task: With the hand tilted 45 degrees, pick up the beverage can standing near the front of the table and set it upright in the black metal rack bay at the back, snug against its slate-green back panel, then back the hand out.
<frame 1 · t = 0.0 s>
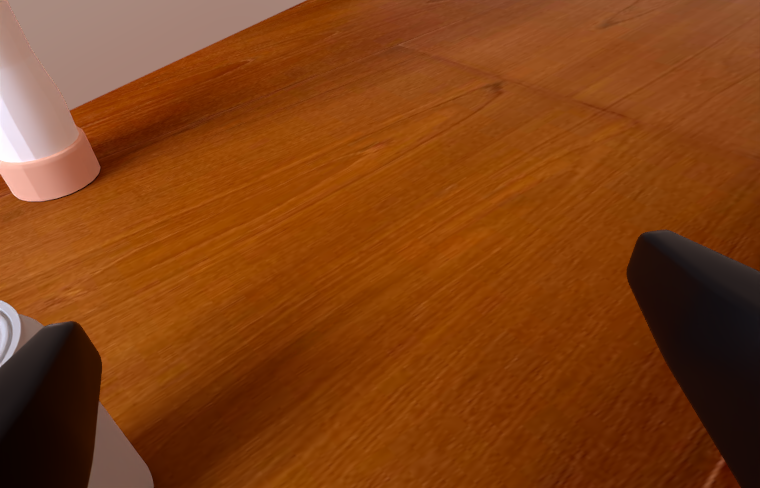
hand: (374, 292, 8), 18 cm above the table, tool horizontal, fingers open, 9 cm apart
pepper shaker: (58, 180, 46), on the table
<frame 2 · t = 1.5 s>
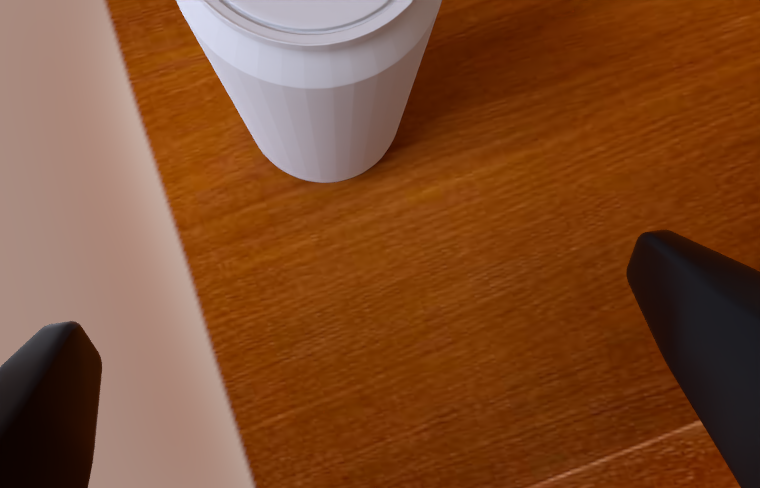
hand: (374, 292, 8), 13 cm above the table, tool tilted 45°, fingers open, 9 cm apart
beverage can: (324, 116, 22), on the table
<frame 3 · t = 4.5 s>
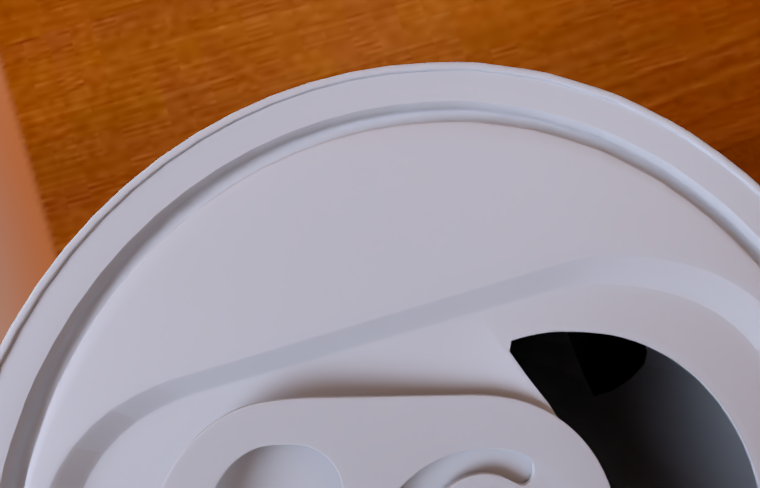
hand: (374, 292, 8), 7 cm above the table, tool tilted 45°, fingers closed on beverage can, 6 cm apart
beverage can: (364, 339, 15), on the table, touching gripper
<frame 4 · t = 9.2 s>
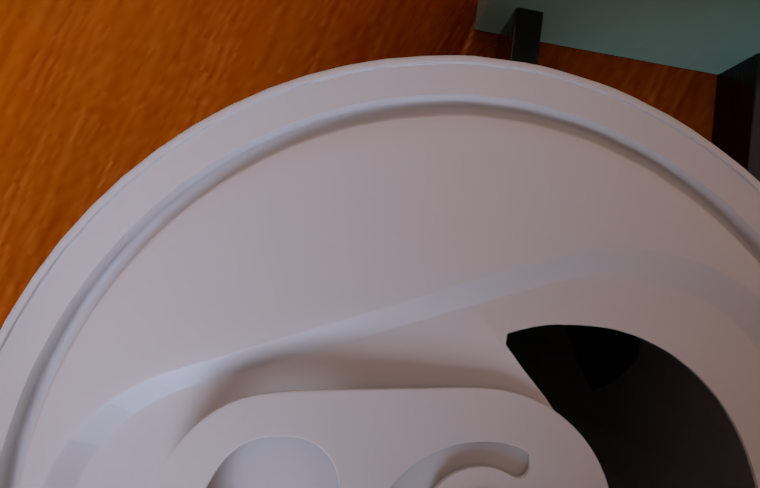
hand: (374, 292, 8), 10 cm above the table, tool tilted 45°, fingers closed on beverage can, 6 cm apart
rack bay: (622, 55, 20), on the table
beverage can: (363, 337, 15), point 4 cm above the table, touching gripper
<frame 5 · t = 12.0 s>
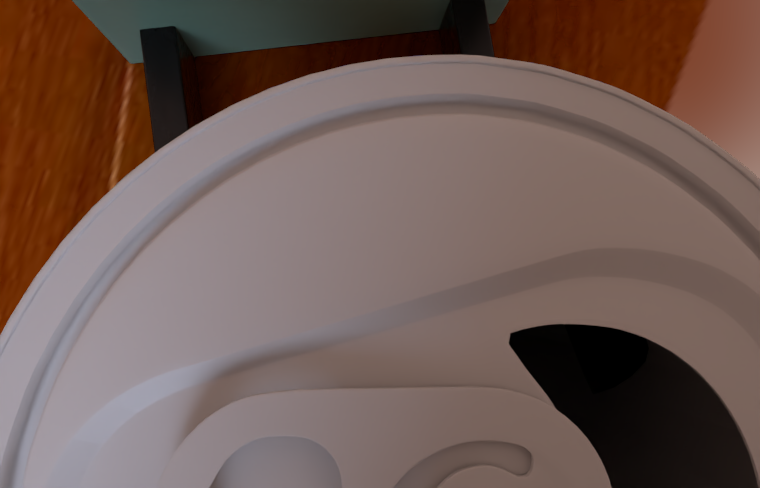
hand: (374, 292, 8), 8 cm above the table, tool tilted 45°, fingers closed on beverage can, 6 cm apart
rack bay: (318, 40, 17), on the table
beverage can: (364, 337, 15), point 1 cm above the table, touching gripper
when the fingers open (7 cm above the table, at t = 14.3 s): beverage can stays where it is, on the table.
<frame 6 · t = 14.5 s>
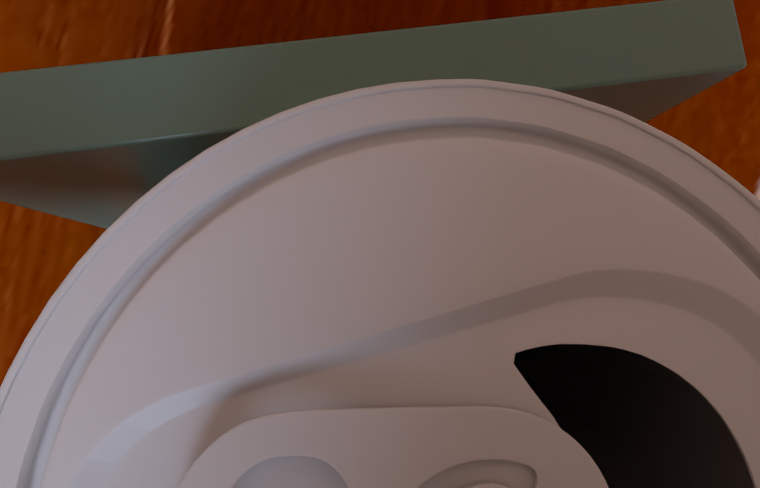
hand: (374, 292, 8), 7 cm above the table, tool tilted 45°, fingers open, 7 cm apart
rack bay: (345, 204, 15), on the table
beverage can: (365, 340, 15), on the table
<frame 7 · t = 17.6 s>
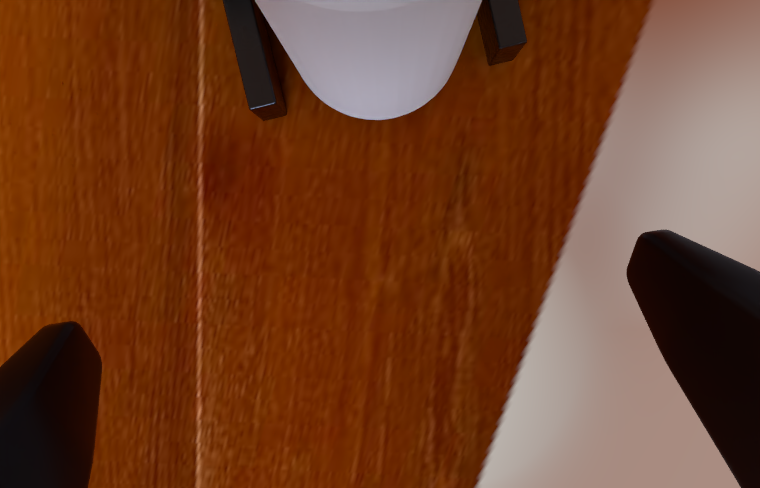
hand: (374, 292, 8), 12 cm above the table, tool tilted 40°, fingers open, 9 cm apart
beverage can: (375, 43, 20), on the table
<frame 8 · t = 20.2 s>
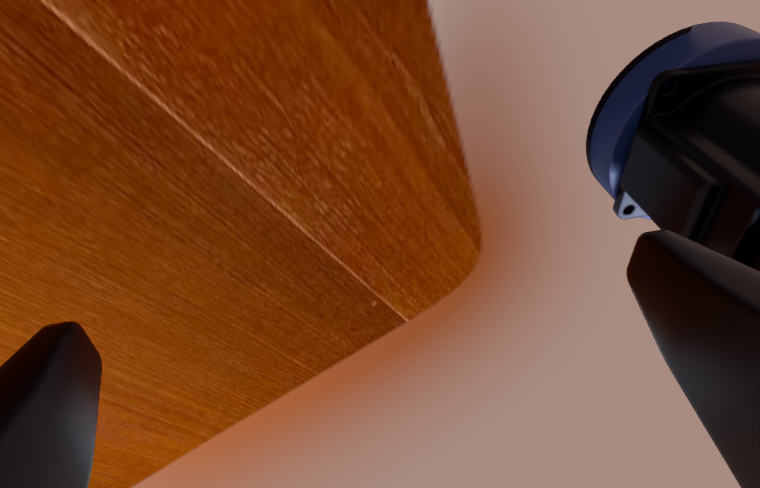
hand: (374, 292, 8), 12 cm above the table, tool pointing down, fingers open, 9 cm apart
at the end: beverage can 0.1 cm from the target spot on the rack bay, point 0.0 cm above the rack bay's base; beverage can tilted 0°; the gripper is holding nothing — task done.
